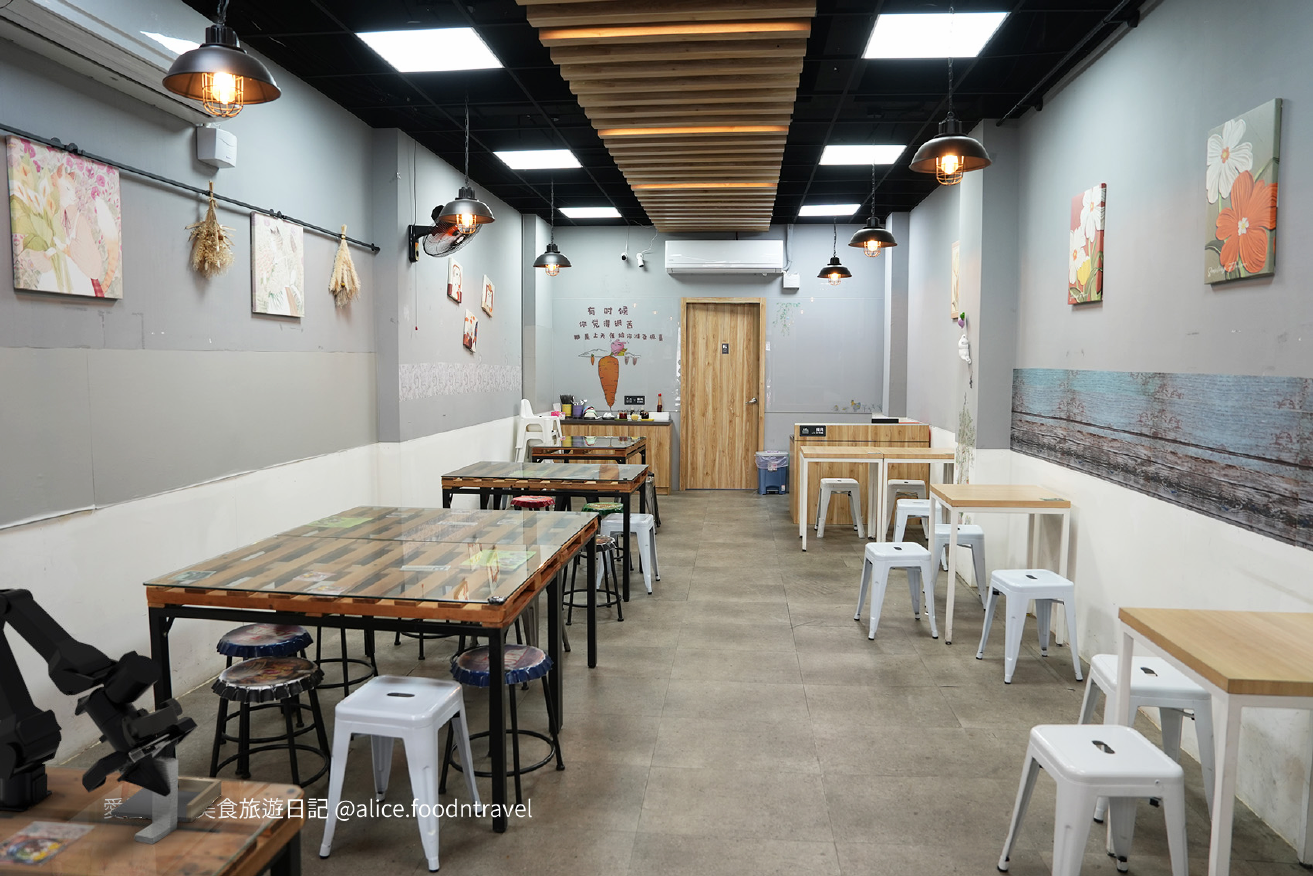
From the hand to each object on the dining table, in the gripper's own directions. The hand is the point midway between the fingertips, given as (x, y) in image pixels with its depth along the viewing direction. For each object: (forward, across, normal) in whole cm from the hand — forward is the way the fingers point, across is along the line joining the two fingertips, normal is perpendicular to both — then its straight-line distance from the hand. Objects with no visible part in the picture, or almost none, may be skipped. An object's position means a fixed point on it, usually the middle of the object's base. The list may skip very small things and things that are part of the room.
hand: (172, 792), depth 137 cm
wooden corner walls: (0, +6, +9) cm, 11 cm away
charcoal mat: (0, +6, +9) cm, 11 cm away
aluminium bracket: (+4, -2, +6) cm, 7 cm away
